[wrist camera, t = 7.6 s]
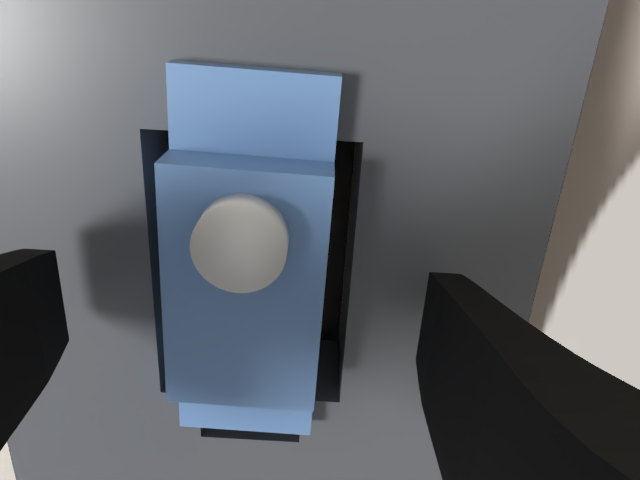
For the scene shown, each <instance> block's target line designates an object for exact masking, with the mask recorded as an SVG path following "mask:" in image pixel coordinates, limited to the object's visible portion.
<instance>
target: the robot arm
mask: <svg viewBox="0 0 640 480" xmlns="http://www.w3.org/2000/svg"><path fill="white" fill-rule="evenodd" d="M68 342H69V334H68V328H67V322H66V315H65V309H64V302H63V296H62V290H61V283H60V277H59V270H58V264H57V258H56V251H55V250H40V249H19V250H14V251H10V252H6V253H3V254H0V451H1V449H2V448H3V446H4V445H5V444H6V442H7V441H8V439H9V438H10V437H11V435H12V434H13V432H14V431H15V430H16V428H17V427H18V425H19V424H20V423H21V421H22V420H23V418H24V417H25V416H26V414H27V413H28V411H29V410H30V408H31V407H32V406H33V404H34V403H35V401H36V400H37V398H38V397H39V395H40V394H41V393H42V391H43V390H44V388H45V387H46V385H47V384H48V382H49V380H50V378H51V376H52V374H53V372H54V371H55V369H56V367H57V365H58V363H59V361H60V359H61V357H62V355H63V352H64V350H65V348H66V346H67V344H68ZM416 367H417V375H418V383H419V390H420V397H421V404H422V408H423V411H424V415H425V419H426V423H427V426H428V430H429V434H430V437H431V441H432V444H433V448H434V452H435V455H436V459H437V462H438V466H439V469H440V473H441V476H442V480H640V390H639V389H637V388H635V387H633V386H631V385H629V384H627V383H626V382H624V381H622V380H620V379H618V378H616V377H615V376H612V375H611V374H609V373H607V372H605V371H604V370H602V369H600V368H598V367H596V366H594V365H593V364H591V363H589V362H588V361H586V360H584V359H583V358H581V357H579V356H578V355H576V354H574V353H573V352H571V351H570V350H568V349H567V348H565V347H564V346H562V345H561V344H559V343H557V342H556V341H554V340H553V339H551V338H550V337H548V336H547V335H545V334H544V333H542V332H541V331H540V330H538V329H537V328H535V327H534V326H532V325H531V324H530V323H528V322H527V321H525V320H524V319H523V318H521V317H520V316H519V315H517V314H516V313H514V312H513V311H512V310H510V309H509V308H508V307H506V306H505V305H504V304H502V303H501V302H500V301H498V300H497V299H496V298H495V297H493V296H492V295H491V294H489V293H488V292H487V291H485V290H484V289H483V288H481V287H480V286H479V285H477V284H476V283H474V282H473V281H472V280H470V279H469V278H467V277H465V276H464V275H462V274H455V273H438V272H429V277H428V283H427V290H426V296H425V303H424V309H423V315H422V322H421V328H420V335H419V341H418V347H417V354H416Z"/></svg>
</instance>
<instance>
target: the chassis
mask: <svg viewBox="0 0 640 480" xmlns="http://www.w3.org/2000/svg"><path fill="white" fill-rule="evenodd" d="M608 2H609V0H0V254H3V253H6V252H10V251H14V250H19V249H40V250H55V251H56V258H57V264H58V270H59V277H60V283H61V290H62V296H63V302H64V309H65V315H66V322H67V328H68V334H69V342H68V344H67V346H66V348H65V350H64V352H63V355H62V357H61V359H60V361H59V363H58V365H57V367H56V369H55V371H54V372H53V374H52V376H51V378H50V380H49V382H48V384H47V385H46V387H45V388H44V390H43V391H42V393H41V394H40V395H39V397H38V398H37V400H36V401H35V403H34V404H33V406H32V407H31V408H30V410H29V411H28V413H27V414H26V416H25V417H24V418H23V420H22V421H21V423H20V424H19V425H18V427H17V428H16V430H15V431H14V432H13V434H12V435H11V437H10V438H9V439H8V441H7V443H8V447H9V451H10V455H11V460H12V464H13V468H14V472H15V477H16V480H442V476H441V473H440V469H439V466H438V462H437V459H436V455H435V452H434V448H433V444H432V441H431V437H430V434H429V430H428V426H427V423H426V419H425V415H424V411H423V408H422V404H421V397H420V390H419V383H418V375H417V367H416V354H417V347H418V341H419V335H420V328H421V322H422V315H423V309H424V303H425V296H426V290H427V283H428V277H429V272H438V273H455V274H462V275H464V276H465V277H467V278H469V279H470V280H472V281H473V282H474V283H476V284H477V285H479V286H480V287H481V288H483V289H484V290H485V291H487V292H488V293H489V294H491V295H492V296H493V297H495V298H496V299H497V300H498V301H500V302H501V303H502V304H504V305H505V306H506V307H508V308H509V309H510V310H512V311H513V312H514V313H516V314H517V315H519V316H520V317H521V318H523V319H524V320H525V321H527V322H528V320H529V316H530V312H531V308H532V304H533V300H534V296H535V292H536V288H537V284H538V280H539V276H540V272H541V268H542V264H543V260H544V256H545V252H546V248H547V244H548V240H549V236H550V232H551V228H552V224H553V220H554V216H555V212H556V208H557V205H558V201H559V197H560V193H561V189H562V185H563V181H564V177H565V173H566V169H567V165H568V161H569V157H570V153H571V149H572V145H573V141H574V137H575V133H576V129H577V125H578V121H579V117H580V113H581V109H582V105H583V101H584V97H585V93H586V89H587V85H588V82H589V78H590V74H591V70H592V66H593V62H594V58H595V54H596V50H597V46H598V42H599V38H600V34H601V30H602V26H603V22H604V18H605V14H606V10H607V6H608ZM173 59H174V60H186V61H199V62H211V63H223V64H236V65H248V66H260V67H273V68H285V69H297V70H310V71H322V72H334V73H342V85H341V96H340V107H339V118H338V130H337V141H351V142H355V149H354V161H353V173H352V185H351V197H350V208H349V220H348V232H347V244H346V255H345V267H344V279H343V291H342V303H341V314H340V326H339V338H338V341H333V340H320V348H319V359H318V370H317V381H316V392H315V403H314V412H312V420H311V431H310V435H297V434H283V433H269V432H255V431H240V430H226V429H212V428H198V427H183V426H180V420H179V402H168V401H166V385H165V365H164V346H163V326H162V306H161V287H160V267H159V247H158V227H157V208H156V188H155V168H154V163H155V162H156V161H157V160H158V159H159V158H160V157H161V156H162V155H163V154H164V153H166V152H167V151H168V150H169V137H168V112H167V86H166V62H168V61H171V60H173Z"/></svg>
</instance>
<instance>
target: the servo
mask: <svg viewBox="0 0 640 480" xmlns="http://www.w3.org/2000/svg"><path fill="white" fill-rule="evenodd" d="M341 85H342V73H334V72H322V71H310V70H297V69H285V68H273V67H260V66H248V65H236V64H223V63H211V62H199V61H186V60H174V59H173V60H171V61H168V62H166V86H167V112H168V137H169V150H168V151H167V152H166V153H164V154H163V155H162V156H161V157H160V158H159V159H158V160H157V161H156V162H155V163H154V168H155V188H156V208H157V227H158V247H159V267H160V287H161V306H162V326H163V346H164V365H165V385H166V401H168V402H179V420H180V426H183V427H198V428H212V429H226V430H240V431H255V432H269V433H283V434H297V435H310V431H311V420H312V412H314V403H315V392H316V381H317V370H318V359H319V348H320V337H321V326H322V315H323V304H324V293H325V282H326V271H327V260H328V249H329V238H330V227H331V216H332V205H333V194H334V183H335V152H336V141H337V130H338V118H339V107H340V96H341Z"/></svg>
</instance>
